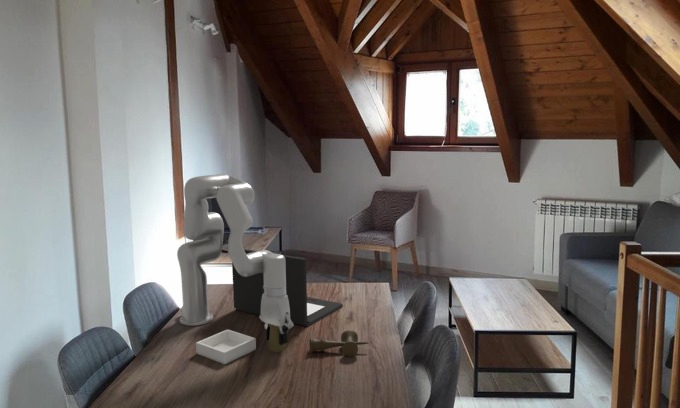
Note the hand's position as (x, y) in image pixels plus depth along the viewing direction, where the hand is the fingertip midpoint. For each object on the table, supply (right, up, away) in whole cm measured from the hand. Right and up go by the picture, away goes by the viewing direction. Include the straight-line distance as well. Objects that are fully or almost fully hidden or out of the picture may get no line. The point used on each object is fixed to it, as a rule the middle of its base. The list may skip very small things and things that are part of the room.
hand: (276, 341), depth 182 cm
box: (-17, -3, -2) cm, 17 cm away
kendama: (+21, -3, -3) cm, 22 cm away
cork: (0, -3, 0) cm, 3 cm away
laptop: (0, +3, +39) cm, 39 cm away
